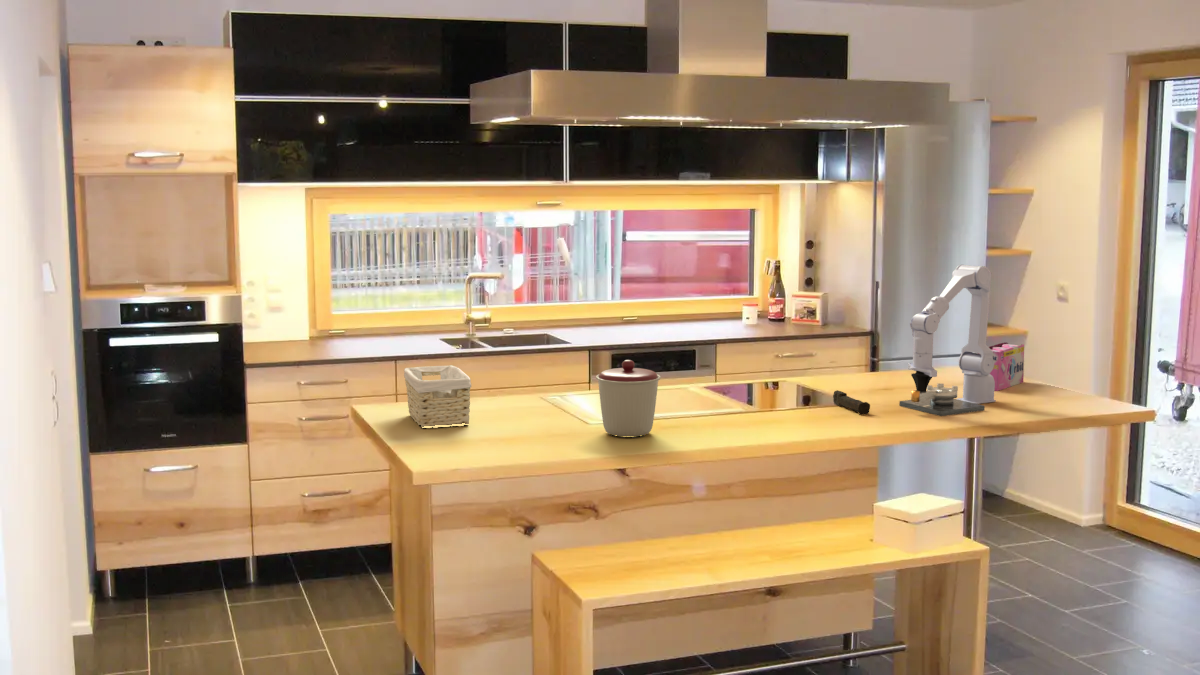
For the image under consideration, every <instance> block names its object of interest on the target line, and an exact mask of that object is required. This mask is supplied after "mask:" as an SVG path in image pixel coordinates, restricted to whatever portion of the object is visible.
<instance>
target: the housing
mask: <svg viewBox="0 0 1200 675" xmlns="http://www.w3.org/2000/svg"><path fill="white" fill-rule="evenodd" d="M957 399H958V398H953V399H938V398H936V399H935V401H931V399H927V400H921V401H919V402H912V401H911V399H906V400H905V399H904V400H899V403H898V404H899V406H900V407H903V408H906V409H910V410H915V411H919V412H922V413H927V414H931V415H935V416H938V417H944V416H953V415H960V414H968V413H976V412H983V411H985V408H986V406H985V405H984V404H983V405H982V404H975V403H970V402H966V401H962V400H957Z"/></svg>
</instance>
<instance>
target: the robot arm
mask: <svg viewBox="0 0 1200 675" xmlns="http://www.w3.org/2000/svg"><path fill="white" fill-rule="evenodd" d="M951 276H952V277H951V280H949V282H948V283H947V285H946V287H945V288H944V289H943V290H942V292H941V293H940V295H939V296H938V295H936V296H934V297H931V299H930V300H929V302H928V303H927V304H926V306H925V307H924V308H923V309H922V311H920V312H919V313H916V314H915V315H913V316H912V317H911V319H910V322H909V327H910V330H911V333H912V337H913V350H912V352H913V354H912V362H908V363H907V370H911V371H914V372H915V373H914V372H913V373H911V377H912V379H913V381H914V385H915V389H916V390H918V391H920V392H923V391H927V386H928V385H930V384H929V383H930V381H931V380H932V378H937V377H938V370H936V369H935V368H934V367H933V352H934V351H933V350H934V333H935V332H937V330H938V328H939V324H940V321H941V318H943V316H944V315H945V314H946V313H947V311H948V310H949V308H950V302H952V301H953V299H954V298H956V297H957V295H958V294H959V293H960V292H962V290H963V289H966V290H967V291H968V292H969V293H970V294H971V301H970V302H971V303H970V314H969V328H968V338H967V339H968V341H967V343H966V344H965V345H964V346H962V348H961V353H960V356H959V359H958V368H959V369H960V370H961V373H962V374H963V387H962V397H960V398H959V397H957V398H956V399H957V400H962V401H966V402H970V403H975V404H979V405H981V404H987V403H988V404H989V403H994V402H995V403H996V401H997V400H996V399H995V391H994V387H995V381H994V378H993V376H992V375H991V374H990V373H991V371H992V370H993V367H994V360H993V351H992V350H991V349H990V348H989V346H988V345H987V335H988V334H987V333H988V332H987V331H988V321H989V320H988V319H989V310H990V296H991V286H992V272H991V271H990V269H989V268H988V267H987V266H983V265H982V266H979V265H966V264H958V265H957V266H956V268H955V269H954V270H953V271H952V275H951ZM978 353H979V354H978Z"/></svg>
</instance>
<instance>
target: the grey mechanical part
mask: <svg viewBox="0 0 1200 675" xmlns="http://www.w3.org/2000/svg"><path fill="white" fill-rule="evenodd" d="M936 385H937V386H935V387H934V386H933V385H931V384H928V386H927V389H926V391H923V392H920V391H918V390H917V389H916V390H914V389H913V390H911V397H910V398H911V399H910V400H911V401H912V402H919V401H921V400H927V399H931V401H935V399H936V398H938V399H953V398H954V399H958V391H959V390H958V389H959V386H958V385H952V387H945V383H941V382H940V383H938V382H937V383H936Z"/></svg>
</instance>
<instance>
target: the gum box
mask: <svg viewBox="0 0 1200 675" xmlns="http://www.w3.org/2000/svg"><path fill="white" fill-rule="evenodd" d="M988 347H989V348H990V349H991V350H992V351H993V360H994V367H993V370H992V371H991V373H990V374H991V375H992V376H993V378H994V381H995V387H994V392H998V391H1001V390H1004V389H1007V388H1010V387H1014V386H1016V385H1020V384H1022V383H1024V376H1025V375H1024V374H1025V373H1024V372H1025V369H1024V366H1025V343H1021V344H1020V345H1017V344H1012V343H1011V344H1009V342H1001V343H997V344H994V345H990V346H988ZM977 354H979V353H977Z"/></svg>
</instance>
